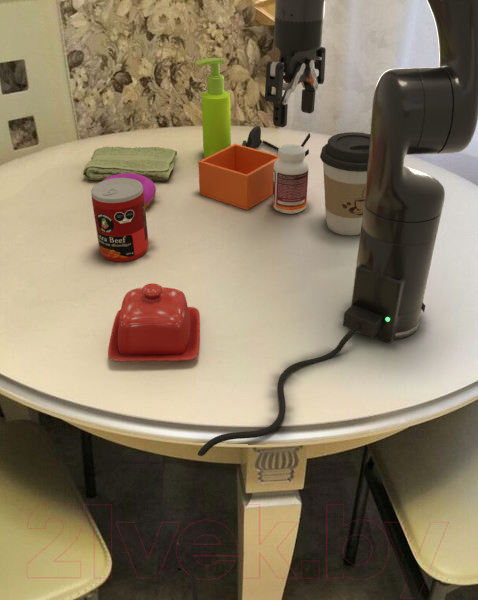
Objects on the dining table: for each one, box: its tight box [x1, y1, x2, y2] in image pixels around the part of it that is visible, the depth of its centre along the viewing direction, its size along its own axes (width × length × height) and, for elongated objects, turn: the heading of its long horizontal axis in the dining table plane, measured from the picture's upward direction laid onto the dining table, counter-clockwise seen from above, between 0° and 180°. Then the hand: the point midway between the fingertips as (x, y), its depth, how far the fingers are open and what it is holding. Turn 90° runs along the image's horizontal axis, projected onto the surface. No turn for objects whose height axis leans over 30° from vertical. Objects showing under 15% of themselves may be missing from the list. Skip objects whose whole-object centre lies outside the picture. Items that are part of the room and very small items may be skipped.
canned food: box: [90, 178, 149, 263], centre depth 97 cm, size 8×8×11 cm
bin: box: [197, 143, 279, 211], centre depth 116 cm, size 11×11×7 cm
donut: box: [102, 173, 157, 209], centre depth 113 cm, size 10×10×5 cm
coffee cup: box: [319, 131, 370, 236], centre depth 103 cm, size 11×11×15 cm
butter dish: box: [107, 282, 201, 362], centre depth 79 cm, size 12×12×8 cm
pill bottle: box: [272, 144, 310, 215], centre depth 110 cm, size 6×6×11 cm
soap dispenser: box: [194, 57, 232, 158], centre depth 127 cm, size 6×7×20 cm
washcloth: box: [82, 146, 178, 182], centre depth 126 cm, size 13×18×3 cm
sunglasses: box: [241, 125, 311, 157], centre depth 129 cm, size 17×14×5 cm
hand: (294, 118), depth 104 cm, fingers open, 8 cm apart
